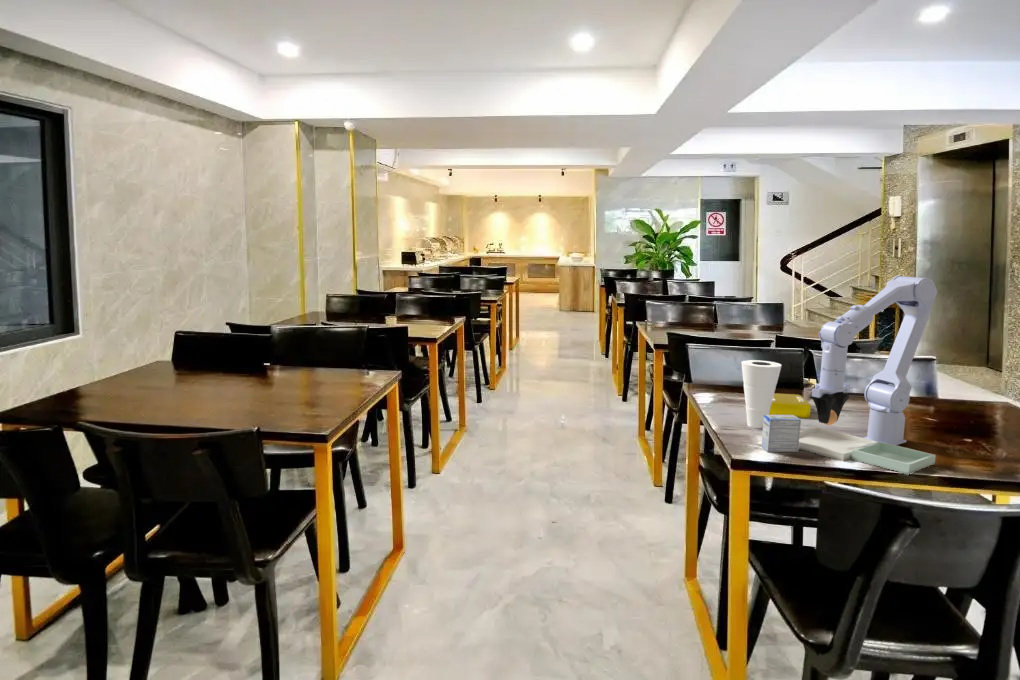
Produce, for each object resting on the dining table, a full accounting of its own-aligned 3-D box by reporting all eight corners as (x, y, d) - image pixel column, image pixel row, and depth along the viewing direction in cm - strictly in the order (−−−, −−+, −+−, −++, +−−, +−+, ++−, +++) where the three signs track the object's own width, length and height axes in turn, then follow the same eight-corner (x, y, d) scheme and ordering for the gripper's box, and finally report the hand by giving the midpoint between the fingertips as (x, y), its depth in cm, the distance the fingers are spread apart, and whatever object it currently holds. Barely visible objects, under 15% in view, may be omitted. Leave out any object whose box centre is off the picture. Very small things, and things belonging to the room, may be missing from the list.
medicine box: (791, 447, 188) (794, 414, 187) (798, 453, 184) (801, 419, 183) (760, 447, 188) (763, 414, 187) (767, 452, 184) (770, 418, 183)
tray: (814, 432, 203) (815, 426, 203) (880, 449, 189) (880, 442, 189) (776, 442, 192) (777, 436, 192) (843, 461, 178) (843, 453, 178)
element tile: (811, 419, 219) (812, 404, 218) (758, 416, 222) (759, 400, 221) (800, 407, 234) (801, 393, 233) (751, 405, 236) (752, 390, 236)
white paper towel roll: (779, 432, 202) (784, 368, 200) (738, 429, 204) (743, 365, 202) (773, 422, 213) (778, 361, 210) (735, 420, 215) (739, 359, 212)
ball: (825, 421, 192) (826, 406, 191) (839, 425, 189) (841, 410, 188) (816, 423, 190) (817, 408, 189) (830, 427, 186) (832, 412, 186)
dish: (878, 450, 187) (879, 441, 187) (934, 465, 177) (935, 454, 177) (851, 459, 179) (852, 449, 179) (908, 475, 169) (909, 464, 168)
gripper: (833, 364, 195) (828, 414, 197) (802, 369, 186) (798, 421, 188) (859, 368, 189) (854, 420, 191) (829, 374, 180) (824, 428, 182)
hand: (828, 421), depth 189 cm, fingers closed on ball, 4 cm apart
